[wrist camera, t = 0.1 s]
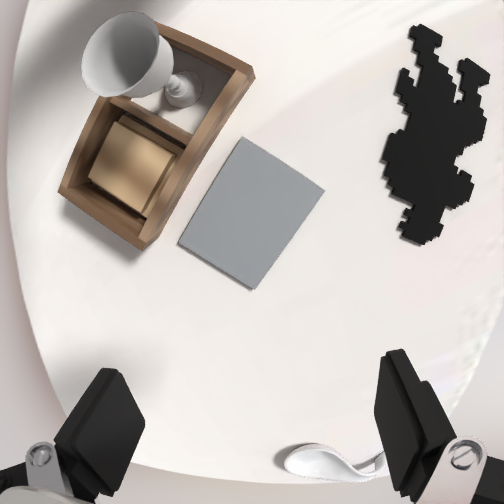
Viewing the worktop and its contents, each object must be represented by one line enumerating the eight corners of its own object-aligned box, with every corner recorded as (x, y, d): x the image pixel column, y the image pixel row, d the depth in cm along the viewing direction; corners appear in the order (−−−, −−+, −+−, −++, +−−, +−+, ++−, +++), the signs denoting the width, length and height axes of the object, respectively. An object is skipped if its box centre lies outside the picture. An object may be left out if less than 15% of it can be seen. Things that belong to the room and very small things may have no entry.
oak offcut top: (121, 122, 35) (114, 121, 33) (176, 155, 36) (171, 155, 34) (95, 175, 37) (87, 176, 35) (146, 209, 38) (140, 212, 36)
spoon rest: (277, 461, 57) (276, 486, 50) (294, 432, 53) (295, 460, 46) (370, 467, 57) (375, 489, 50) (395, 439, 53) (402, 463, 46)
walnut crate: (163, 33, 32) (147, 18, 27) (255, 78, 34) (252, 66, 28) (81, 185, 40) (57, 192, 34) (159, 236, 41) (142, 250, 36)
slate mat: (243, 136, 36) (242, 136, 36) (324, 189, 38) (325, 190, 37) (179, 240, 41) (178, 242, 41) (254, 287, 43) (254, 289, 42)
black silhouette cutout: (412, 22, 29) (353, 216, 39) (414, 20, 28) (355, 218, 38) (495, 76, 30) (444, 253, 40) (499, 75, 29) (447, 255, 39)
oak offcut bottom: (130, 116, 37) (122, 114, 34) (189, 150, 38) (184, 150, 36) (99, 178, 40) (90, 181, 38) (154, 214, 41) (147, 218, 39)
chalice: (201, 120, 36) (144, 101, 19) (152, 111, 36) (71, 94, 19) (216, 67, 34) (172, 12, 17) (166, 60, 34) (97, 13, 17)
